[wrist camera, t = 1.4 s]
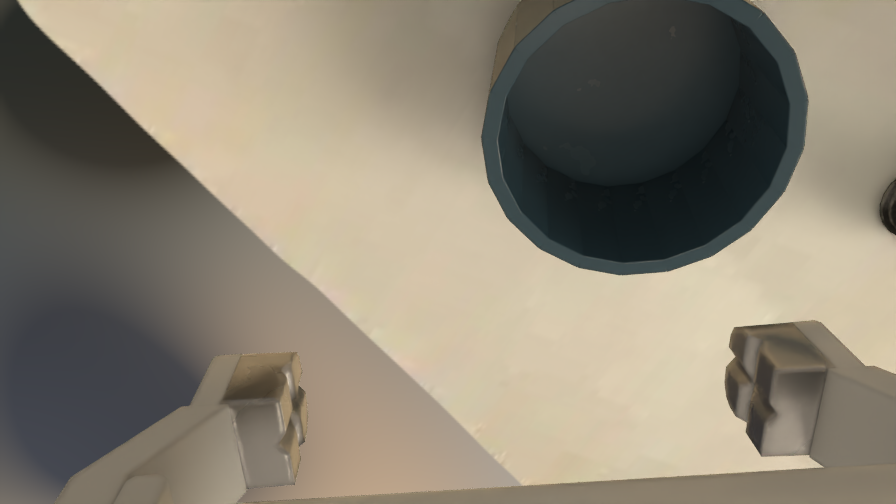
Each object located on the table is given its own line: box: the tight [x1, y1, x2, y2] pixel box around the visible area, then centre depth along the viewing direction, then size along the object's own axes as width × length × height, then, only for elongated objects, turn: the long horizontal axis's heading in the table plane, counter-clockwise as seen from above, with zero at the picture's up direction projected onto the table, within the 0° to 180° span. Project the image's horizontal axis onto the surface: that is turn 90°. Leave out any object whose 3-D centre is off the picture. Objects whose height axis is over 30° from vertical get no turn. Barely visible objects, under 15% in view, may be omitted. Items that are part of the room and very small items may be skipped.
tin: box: [481, 0, 808, 275], centre depth 37 cm, size 15×15×10 cm
